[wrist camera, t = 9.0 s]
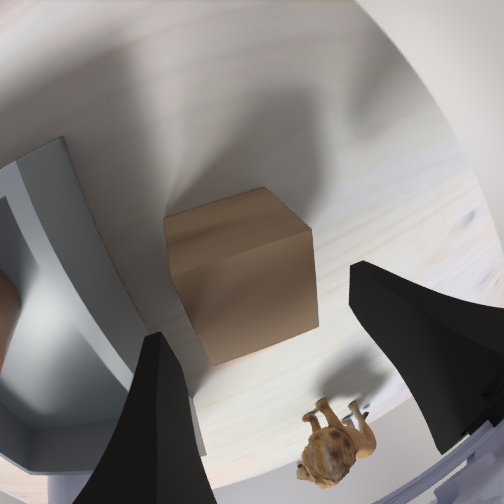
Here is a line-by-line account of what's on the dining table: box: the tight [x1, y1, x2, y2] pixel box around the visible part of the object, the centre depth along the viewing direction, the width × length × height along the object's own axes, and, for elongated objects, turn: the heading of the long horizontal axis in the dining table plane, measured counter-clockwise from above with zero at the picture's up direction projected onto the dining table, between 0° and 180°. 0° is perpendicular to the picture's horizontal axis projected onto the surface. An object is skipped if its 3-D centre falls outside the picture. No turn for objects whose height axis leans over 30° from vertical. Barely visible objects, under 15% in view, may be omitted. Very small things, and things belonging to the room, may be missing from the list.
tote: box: [0, 136, 207, 475], centre depth 12 cm, size 20×17×5 cm
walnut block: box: [164, 187, 319, 366], centre depth 13 cm, size 5×5×5 cm
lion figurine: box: [296, 399, 376, 489], centre depth 26 cm, size 15×5×9 cm, turn 59°
